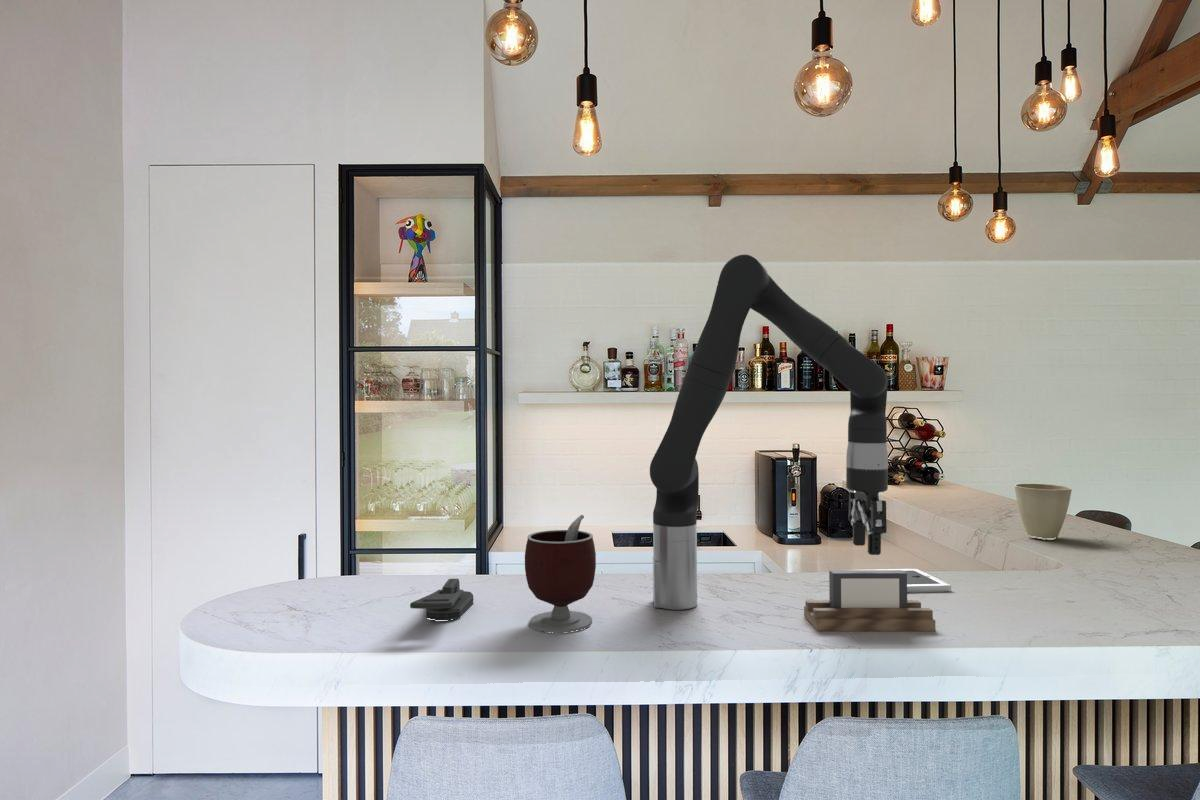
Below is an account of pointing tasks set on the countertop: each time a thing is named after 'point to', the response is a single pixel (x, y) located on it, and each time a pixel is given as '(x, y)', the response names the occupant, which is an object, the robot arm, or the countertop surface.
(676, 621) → the countertop surface
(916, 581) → the picture frame
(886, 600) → the grey photo frame
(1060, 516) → the plant pot
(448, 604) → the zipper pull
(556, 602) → the mate gourd
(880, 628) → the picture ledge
